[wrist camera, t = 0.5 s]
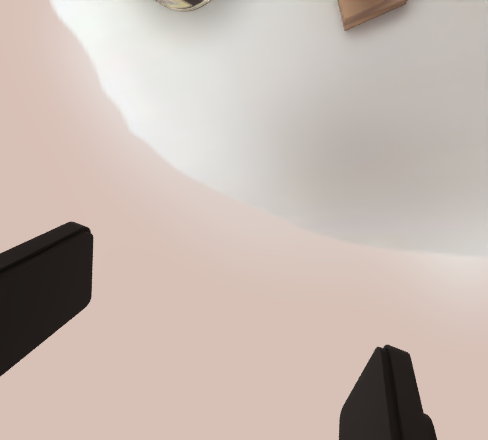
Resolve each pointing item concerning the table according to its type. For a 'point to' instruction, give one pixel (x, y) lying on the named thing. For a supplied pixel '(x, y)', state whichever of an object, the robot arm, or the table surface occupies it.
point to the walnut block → (365, 10)
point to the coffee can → (183, 4)
